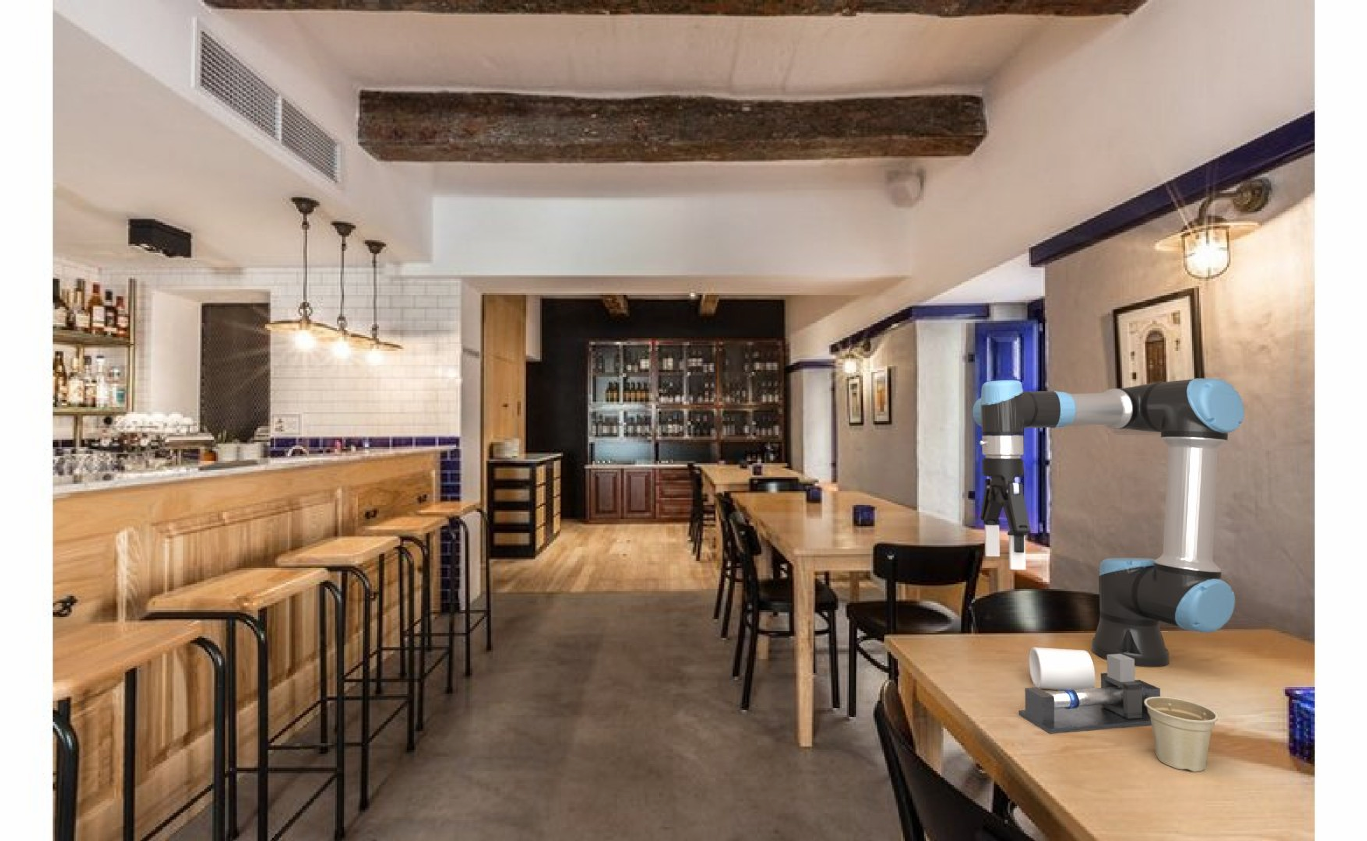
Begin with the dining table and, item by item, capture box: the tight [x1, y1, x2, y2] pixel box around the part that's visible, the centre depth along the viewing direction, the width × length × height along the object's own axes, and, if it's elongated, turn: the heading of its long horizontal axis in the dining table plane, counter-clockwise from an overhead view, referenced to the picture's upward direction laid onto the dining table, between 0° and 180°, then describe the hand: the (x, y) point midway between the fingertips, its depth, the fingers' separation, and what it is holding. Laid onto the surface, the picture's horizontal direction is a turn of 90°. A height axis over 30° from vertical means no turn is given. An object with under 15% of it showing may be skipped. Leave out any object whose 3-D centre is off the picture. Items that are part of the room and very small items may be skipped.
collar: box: [1100, 654, 1142, 719], centre depth 122 cm, size 3×6×10 cm, turn 10°
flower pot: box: [1144, 696, 1219, 773], centre depth 105 cm, size 9×9×9 cm
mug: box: [1028, 646, 1096, 691], centre depth 137 cm, size 12×10×8 cm
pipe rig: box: [1018, 679, 1161, 735], centre depth 121 cm, size 24×8×6 cm, turn 100°
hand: (1004, 562), depth 132 cm, fingers open, 13 cm apart
